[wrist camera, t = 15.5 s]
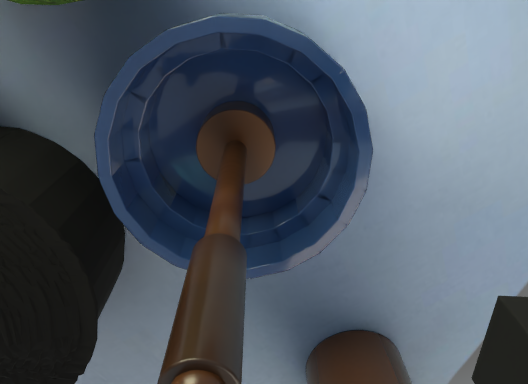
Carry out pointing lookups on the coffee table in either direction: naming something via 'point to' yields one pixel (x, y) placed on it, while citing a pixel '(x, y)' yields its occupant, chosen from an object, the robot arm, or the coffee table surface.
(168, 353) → the wooden pestle
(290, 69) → the bowl
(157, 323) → the coffee table surface
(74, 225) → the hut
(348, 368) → the crock
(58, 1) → the fruit
